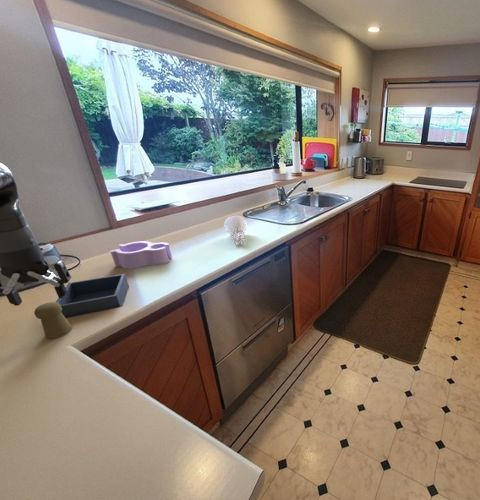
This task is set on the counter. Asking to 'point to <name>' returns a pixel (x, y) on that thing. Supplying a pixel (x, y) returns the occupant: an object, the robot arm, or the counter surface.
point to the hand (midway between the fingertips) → (40, 300)
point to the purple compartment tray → (141, 254)
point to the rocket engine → (236, 228)
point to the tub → (94, 295)
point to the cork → (52, 320)
